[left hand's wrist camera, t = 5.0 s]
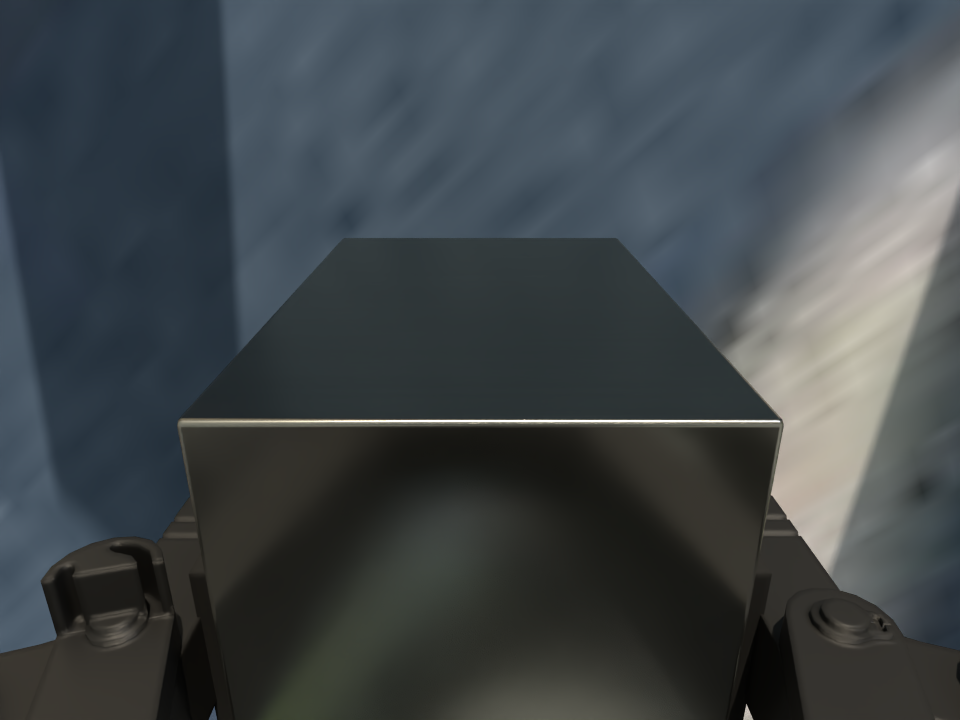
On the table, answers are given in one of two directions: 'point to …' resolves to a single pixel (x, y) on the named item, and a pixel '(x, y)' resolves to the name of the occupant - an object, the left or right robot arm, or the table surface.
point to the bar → (480, 491)
